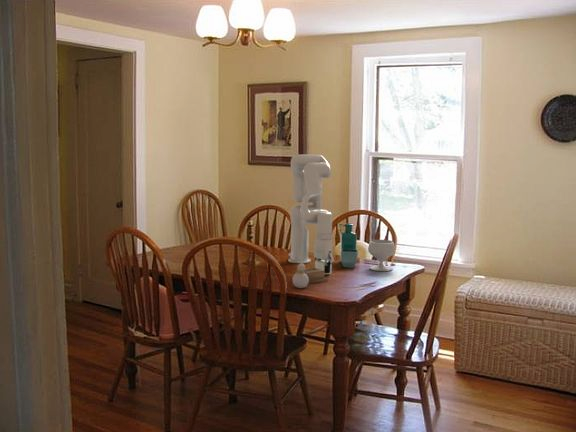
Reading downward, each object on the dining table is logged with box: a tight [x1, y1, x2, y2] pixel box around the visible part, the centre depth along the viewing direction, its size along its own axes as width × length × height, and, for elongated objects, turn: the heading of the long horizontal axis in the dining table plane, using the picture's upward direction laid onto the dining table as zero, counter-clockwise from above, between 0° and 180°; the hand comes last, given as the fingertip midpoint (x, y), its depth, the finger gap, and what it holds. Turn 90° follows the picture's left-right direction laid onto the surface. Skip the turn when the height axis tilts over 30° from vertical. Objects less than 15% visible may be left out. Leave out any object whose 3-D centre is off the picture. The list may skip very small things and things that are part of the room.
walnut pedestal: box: [291, 266, 328, 285], centre depth 297 cm, size 12×12×5 cm
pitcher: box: [338, 222, 358, 264], centre depth 342 cm, size 10×8×22 cm
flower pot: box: [340, 249, 359, 269], centre depth 330 cm, size 9×9×9 cm
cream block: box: [314, 260, 333, 276], centre depth 311 cm, size 6×6×6 cm
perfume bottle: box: [291, 262, 309, 289], centre depth 280 cm, size 8×10×12 cm
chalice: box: [367, 239, 396, 272], centre depth 324 cm, size 14×14×15 cm
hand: (323, 271), depth 311 cm, fingers closed on cream block, 6 cm apart
